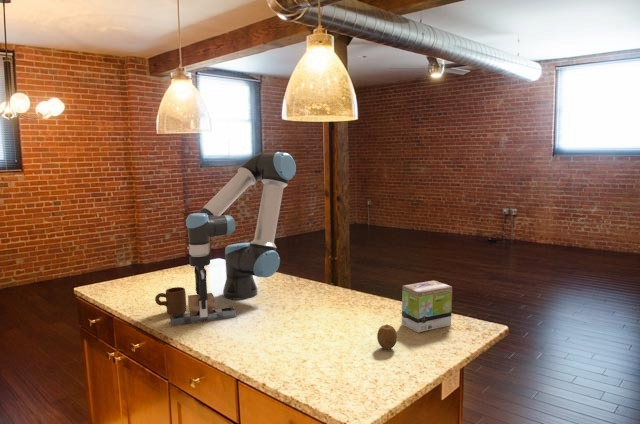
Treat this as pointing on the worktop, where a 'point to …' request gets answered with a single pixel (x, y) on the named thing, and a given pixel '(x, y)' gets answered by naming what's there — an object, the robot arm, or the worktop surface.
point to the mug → (173, 300)
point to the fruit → (387, 336)
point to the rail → (188, 319)
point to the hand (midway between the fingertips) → (202, 313)
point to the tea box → (426, 305)
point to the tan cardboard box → (194, 303)
